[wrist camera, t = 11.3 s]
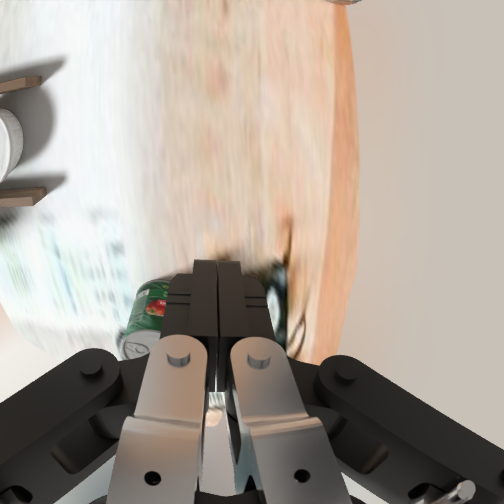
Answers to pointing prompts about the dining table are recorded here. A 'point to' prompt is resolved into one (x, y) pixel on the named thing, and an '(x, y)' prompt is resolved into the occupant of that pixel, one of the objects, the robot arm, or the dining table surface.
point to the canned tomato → (145, 319)
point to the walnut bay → (24, 194)
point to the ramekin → (9, 142)
